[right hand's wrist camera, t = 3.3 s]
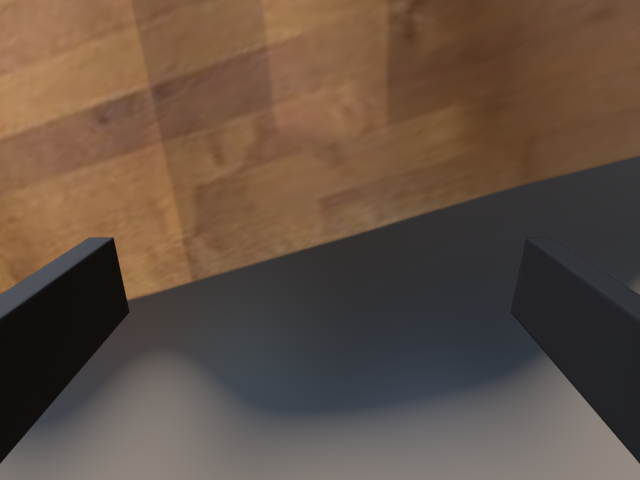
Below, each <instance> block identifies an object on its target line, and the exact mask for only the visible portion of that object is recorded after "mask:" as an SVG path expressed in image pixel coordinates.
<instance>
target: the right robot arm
mask: <svg viewBox="0 0 640 480" xmlns="http://www.w3.org/2000/svg"><path fill="white" fill-rule="evenodd" d="M128 313H129V308H128V303H127V299H126V294H125V289H124V285H123V280H122V275H121V271H120V266H119V261H118V257H117V252H116V247H115V243H114V238H88V239H86V240H85V241H83V242H82V243H80V244H78V245H77V246H75V247H74V248H72V249H71V250H69V251H68V252H66V253H64V254H63V255H61V256H60V257H58V258H57V259H55V260H54V261H52V262H51V263H49V264H47V265H46V266H44V267H43V268H41V269H40V270H38V271H37V272H35V273H33V274H32V275H30V276H29V277H27V278H26V279H24V280H23V281H21V282H19V283H18V284H16V285H15V286H13V287H12V288H10V289H9V290H7V291H6V292H4V293H2V294H1V295H0V463H1V462H2V461H3V460H4V458H5V457H6V456H7V455H8V454H9V453H10V451H11V450H12V449H13V448H14V447H15V446H16V444H17V443H18V442H19V441H20V440H21V439H22V437H23V436H24V435H25V434H26V433H27V432H28V430H29V429H30V428H31V427H32V426H33V424H34V423H35V422H36V421H37V420H38V419H39V417H40V416H41V415H42V414H43V413H44V412H45V410H46V409H47V408H48V407H49V406H50V405H51V403H52V402H53V401H54V400H55V399H56V398H57V396H58V395H59V394H60V393H61V392H62V391H63V389H64V388H65V387H66V386H67V385H68V383H69V382H70V381H71V380H72V379H73V378H74V376H75V375H76V374H77V373H78V372H79V371H80V369H81V368H82V367H83V366H84V365H85V364H86V362H87V361H88V360H89V359H90V358H91V357H92V355H93V354H94V353H95V352H96V351H97V349H98V348H99V347H100V346H101V345H102V344H103V342H104V341H105V340H106V339H107V338H108V337H109V335H110V334H111V333H112V332H113V331H114V330H115V328H116V327H117V326H118V325H119V324H120V323H121V321H122V320H123V319H124V318H125V317H126V315H127V314H128ZM511 313H512V314H513V316H514V317H515V318H516V319H517V320H518V321H519V323H520V324H521V325H522V326H523V327H524V328H525V330H526V331H527V332H528V333H529V334H530V335H531V337H532V338H533V339H534V340H535V341H536V342H537V344H538V345H539V346H540V347H541V348H542V350H543V351H544V352H545V353H546V354H547V355H548V357H549V358H550V359H551V360H552V361H553V362H554V364H555V365H556V366H557V367H558V368H559V369H560V371H561V372H562V373H563V374H564V375H565V376H566V378H567V379H568V380H569V381H570V382H571V384H572V385H573V386H574V387H575V388H576V389H577V391H578V392H579V393H580V394H581V395H582V396H583V398H584V399H585V400H586V401H587V402H588V403H589V405H590V406H591V407H592V408H593V409H594V410H595V412H596V413H597V414H598V415H599V416H600V417H601V419H602V420H603V421H604V422H605V423H606V424H607V426H608V427H609V428H610V429H611V430H612V432H613V433H614V434H615V435H616V436H617V437H618V439H619V440H620V441H621V442H622V443H623V444H624V446H625V447H626V448H627V449H628V450H629V451H630V453H631V454H632V455H633V456H634V457H635V458H636V460H637V461H638V462H639V463H640V295H639V294H638V293H636V292H634V291H633V290H631V289H630V288H628V287H627V286H625V285H624V284H622V283H620V282H619V281H617V280H616V279H614V278H613V277H611V276H610V275H608V274H607V273H605V272H603V271H602V270H600V269H599V268H597V267H596V266H594V265H593V264H591V263H589V262H588V261H586V260H585V259H583V258H582V257H580V256H579V255H577V254H576V253H574V252H572V251H571V250H569V249H568V248H566V247H565V246H563V245H561V244H560V243H558V242H557V241H555V240H554V239H552V238H526V243H525V248H524V252H523V257H522V261H521V266H520V271H519V275H518V280H517V285H516V289H515V294H514V299H513V303H512V308H511Z"/></svg>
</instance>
